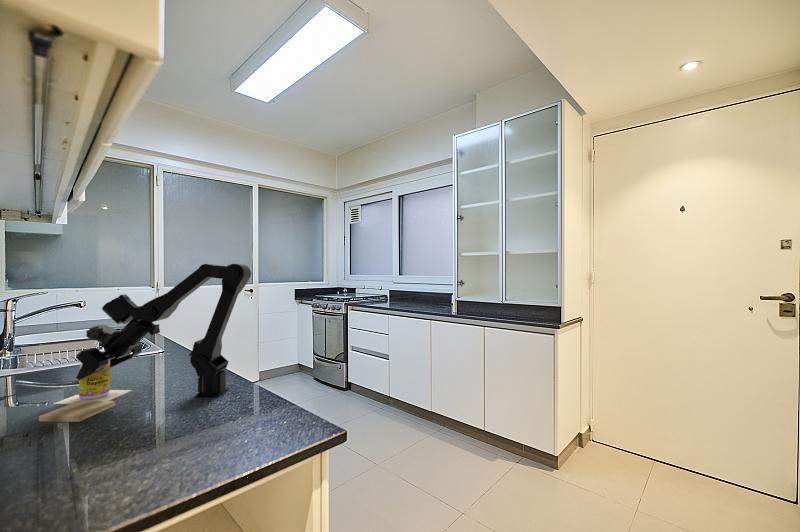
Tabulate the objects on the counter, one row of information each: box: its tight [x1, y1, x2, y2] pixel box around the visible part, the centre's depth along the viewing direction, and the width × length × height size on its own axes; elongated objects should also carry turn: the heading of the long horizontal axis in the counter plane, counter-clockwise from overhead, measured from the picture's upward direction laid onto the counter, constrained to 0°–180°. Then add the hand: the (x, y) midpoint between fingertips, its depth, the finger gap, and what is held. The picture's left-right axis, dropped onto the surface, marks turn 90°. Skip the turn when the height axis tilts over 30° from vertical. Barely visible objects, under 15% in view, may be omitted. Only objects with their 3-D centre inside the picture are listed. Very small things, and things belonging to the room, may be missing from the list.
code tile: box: [52, 389, 133, 405], centre depth 100 cm, size 13×11×1 cm
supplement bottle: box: [78, 349, 111, 400], centre depth 100 cm, size 7×7×13 cm
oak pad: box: [38, 400, 116, 423], centre depth 89 cm, size 10×10×1 cm
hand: (89, 374), depth 100 cm, fingers open, 8 cm apart
